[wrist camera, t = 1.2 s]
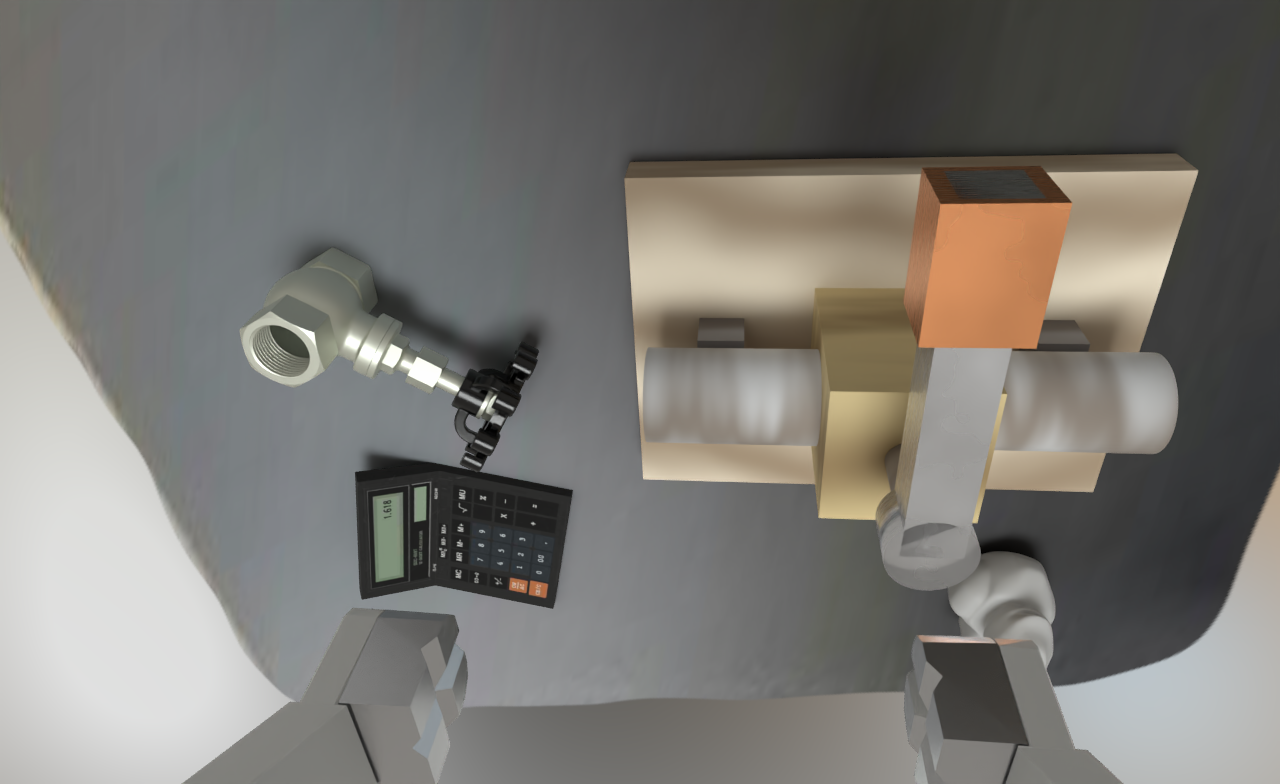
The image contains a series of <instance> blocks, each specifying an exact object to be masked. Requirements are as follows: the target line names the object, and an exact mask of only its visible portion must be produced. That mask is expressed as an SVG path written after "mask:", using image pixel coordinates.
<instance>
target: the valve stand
mask: <svg viewBox="0 0 1280 784" xmlns="http://www.w3.org/2000/svg"><path fill="white" fill-rule="evenodd" d="M988 166H1041V167H1042V168H1043V169H1044V170H1045V172H1046V173H1047V174H1048V175H1049V176H1050V177H1051V178H1052V180H1053V181H1054V182H1055V183H1056V184H1057V185H1058V187H1059V188H1060V189H1061V190H1062V191H1063V192H1064V194H1065V195H1066V196H1067V197H1068V198H1069V199H1070V201H1071V202H1072V207H1071V211H1070V215H1069V219H1068V223H1067V227H1066V231H1065V235H1064V239H1063V243H1062V247H1061V251H1060V255H1059V259H1058V263H1057V267H1056V271H1055V276H1054V280H1053V284H1052V288H1051V292H1050V296H1049V300H1048V304H1047V308H1046V312H1045V316H1044V320H1043V324H1042V328H1041V332H1040V336H1039V340H1038V344H1037V348H1036V349H1023V348H1012V351H1011V356H1010V360H1009V364H1008V369H1007V373H1006V377H1005V382H1004V386H1003V390H1002V395H1001V399H1000V404H999V408H998V412H997V417H996V421H995V425H994V430H993V434H992V439H991V443H990V447H989V452H988V456H987V460H986V465H985V469H984V474H983V478H982V482H981V487H980V491H979V495H978V500H977V504H976V508H975V513H974V517H973V522H972V523H977V522H978V518H979V513H980V509H981V505H982V501H983V496H984V492H985V489H1005V490H1040V491H1076V492H1093V491H1094V488H1095V485H1096V482H1097V479H1098V476H1099V472H1100V469H1101V466H1102V463H1103V460H1104V457H1105V454H1106V453H1132V454H1156V453H1158V452H1160V451H1162V450H1163V449H1164V448H1165V447H1166V445H1167V444H1168V442H1169V441H1170V439H1171V437H1172V434H1173V432H1174V428H1175V425H1176V420H1177V413H1178V391H1177V385H1176V380H1175V376H1174V373H1173V371H1172V368H1171V366H1170V364H1169V363H1168V361H1167V360H1166V359H1165V358H1164V357H1163V356H1162V355H1160V354H1158V353H1150V352H1139V350H1140V347H1141V344H1142V341H1143V338H1144V335H1145V332H1146V329H1147V326H1148V323H1149V320H1150V317H1151V314H1152V311H1153V308H1154V305H1155V302H1156V299H1157V296H1158V293H1159V290H1160V286H1161V283H1162V280H1163V277H1164V274H1165V271H1166V268H1167V265H1168V262H1169V259H1170V256H1171V253H1172V250H1173V247H1174V244H1175V241H1176V238H1177V235H1178V232H1179V229H1180V225H1181V222H1182V219H1183V216H1184V213H1185V210H1186V207H1187V204H1188V201H1189V198H1190V195H1191V192H1192V189H1193V186H1194V183H1195V180H1196V177H1197V174H1198V170H1197V169H1196V168H1195V167H1193V166H1192V165H1191V164H1189V163H1188V162H1187V161H1185V160H1184V159H1183V158H1181V157H1180V156H1179V155H1178V154H1112V155H1048V156H983V157H919V158H855V159H791V160H726V161H662V162H630V163H629V166H628V169H627V172H626V175H625V178H624V180H625V196H626V212H627V228H628V243H629V259H630V275H631V291H632V307H633V323H634V339H635V354H636V370H637V386H638V402H639V418H640V434H641V450H642V465H643V479H652V480H687V481H722V482H758V483H793V484H815V487H816V497H817V506H818V516H819V518H836V519H866V520H876V519H875V515H876V510H877V507H878V505H879V503H880V502H881V500H882V499H883V498H884V497H885V496H886V495H887V494H888V493H890V492H891V491H892V490H894V489H895V483H896V476H897V470H898V463H899V457H900V450H901V444H902V437H903V431H904V424H905V418H906V411H907V405H908V398H909V392H910V385H911V379H912V373H913V366H914V360H915V353H916V347H917V342H916V339H915V336H914V333H913V330H912V327H911V324H910V321H909V318H908V315H907V312H906V309H905V305H904V302H903V300H904V292H905V285H906V278H907V271H908V264H909V257H910V249H911V242H912V235H913V228H914V221H915V214H916V206H917V199H918V192H919V185H920V178H921V171H922V167H988Z"/></svg>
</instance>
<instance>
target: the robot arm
mask: <svg viewBox="0 0 1280 784" xmlns="http://www.w3.org/2000/svg"><path fill="white" fill-rule="evenodd" d="M458 633H459V629H458V625H457V622H456V619H455V616H454V615H449V614H436V613H423V612H409V611H396V610H379V609H362V608H352V609H351V610H350V611H349V612H348V613H347V614H346V615H345V616H344V617H343V619H342V621H341V623H340V625H339V627H338V629H337V631H336V633H335V634H334V636H333V638H332V640H331V642H330V644H329V646H328V648H327V650H326V652H325V654H324V656H323V658H322V660H321V662H320V664H319V666H318V668H317V670H316V671H315V673H314V675H313V677H312V679H311V681H310V683H309V685H308V687H307V689H306V691H305V693H304V695H303V697H302V699H301V701H300V702H289V703H288V704H287V705H285V706H284V707H283V708H281V709H280V710H279V711H277V712H276V713H275V714H273V715H272V716H271V717H269V718H268V719H267V720H265V721H264V722H263V723H261V724H260V725H259V726H257V727H256V728H255V729H254V730H252V731H251V732H250V733H248V734H247V735H246V736H244V737H243V738H242V739H240V740H239V741H238V742H236V743H235V744H234V745H232V746H231V747H230V748H229V749H227V750H226V751H225V752H223V753H222V754H221V755H219V756H218V757H217V758H215V759H214V760H213V761H211V762H210V763H209V764H207V765H206V766H205V767H203V768H202V769H201V770H199V771H198V772H197V773H196V774H194V775H193V776H192V777H190V778H189V779H188V780H186V781H185V782H184V783H182V784H438V781H439V778H440V775H441V772H442V769H443V765H444V763H445V759H446V756H447V753H448V750H449V747H450V740H449V737H448V733H447V730H446V728H447V727H448V726H449V725H450V724H451V723H452V722H453V721H454V720H456V719H457V718H458V717H459V716H460V713H461V710H462V706H463V703H464V700H465V694H466V687H467V680H468V671H467V660H466V656H465V652H464V650H462V649H461V648H460V647H459V646H458V645H457V644H455V641H456V638H457V635H458ZM911 654H912V659H913V664H914V669H913V670H912V671H911V672H909V673H908V674H907V678H906V685H905V698H904V700H905V701H904V712H905V722H906V730H907V736H908V742H909V744H910V745H911V746H912V748H913V749H914V750H915V751H916V752H917V753H918V759H917V764H916V768H915V773H914V776H915V781H916V784H1123V783H1122V782H1121V781H1120V780H1119V779H1118V778H1117V777H1115V775H1114V774H1113V773H1111V772H1110V771H1109V770H1108V769H1107V768H1106V767H1105V766H1104V765H1103V764H1102V763H1101V762H1100V761H1099V760H1097V759H1096V758H1095V757H1094V756H1093V755H1092V754H1091V753H1090V752H1089V751H1088V750H1080V749H1079V750H1078V749H1075V747H1074V744H1073V741H1072V738H1071V736H1070V733H1069V730H1068V727H1067V725H1066V722H1065V719H1064V716H1063V714H1062V711H1061V708H1060V705H1059V703H1058V700H1057V697H1056V694H1055V692H1054V689H1053V686H1052V683H1051V681H1050V678H1049V675H1048V673H1047V670H1046V667H1045V664H1044V662H1043V659H1042V656H1041V653H1040V651H1039V648H1038V646H1037V645H1036V644H1035V643H1034V642H1033V641H1032V640H1016V639H995V638H994V639H991V638H987V637H958V636H928V635H917V636H916V638H915V640H914V643H913V647H912V652H911Z"/></svg>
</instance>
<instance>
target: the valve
mask: <svg viewBox="0 0 1280 784" xmlns="http://www.w3.org/2000/svg"><path fill="white" fill-rule="evenodd" d="M377 302H378V299H377V294H376V290H375V285H374V281H373V276H372V272H371V268H370V266H369V265H367V264H365V263H363V262H361V261H359V260H357V259H355V258H353V257H351V256H350V255H348V254H346V253H344V252H342V251H340V250H338V249H336V248H333V247H332V248H330V249H329V250H327V251H326V252H324V253H322V254H321V255H319V256H317V257H316V258H314V259H313V260H311V261H309V262H308V263H306V264H305V265H304V266H303V267H302V268H301V269H299V270H296V271H293V272H291V273H289V274H287V275H285V276H284V277H282V278H281V279H280V280H279V281H278V282H276V283H275V285H274V286H273V287H272V288H271V290H270V291H269V293H268V295H267V297H266V300H265V303H264V307H263V309H262V310H260V311H258V312H257V313H256V314H255V315H254V316H253V317H252V318H251V319H250V320H249V321H248V322H247V323H246V324H245V325H244V326H243V327H242V328H241V329H240V336H241V341H242V345H243V348H244V352H245V354H246V357H247V359H248V361H249V363H250V365H251V367H252V368H253V369H254V370H256V371H257V372H259V373H260V374H262V375H264V376H266V377H267V378H269V379H271V380H274V381H276V382H278V383H281V384H284V385H287V386H290V387H297V386H299V385H301V384H303V383H305V382H307V381H309V380H311V379H312V378H314V377H316V376H317V375H319V374H321V373H322V372H324V371H325V370H326V369H327V367H328V366H329V365H330V363H331V362H332V361H333V360H334V358H335V357H336V356H341V357H344V358H346V359H348V360H350V361H352V362H354V366H353V370H355V371H357V372H359V373H361V374H363V375H365V376H367V377H369V378H371V379H374V378H375V377H376V376H377V375H378V373H379V372H380V370H381V371H384V372H386V373H388V374H390V375H392V374H393V373H394V372H395V371H397V370H399V371H401V372H403V373H406V374H408V376H407V379H406V383H408V384H410V385H412V386H414V387H416V388H419V389H421V390H423V391H425V392H427V393H429V394H431V393H432V392H433V390H434V389H435V387H438V388H440V389H442V390H444V391H446V392H448V393H451V394H453V395H455V398H454V400H453V402H452V406H453V407H455V408H457V409H458V411H457V413H456V416H455V420H454V421H455V429H456V431H457V433H458V435H459V436H460V437H461V438H462V439H463V440H464V441H466V442H468V443H467V445H466V448H465V450H466V451H468V452H470V453H472V454H474V456H473V455H471V454H469V453H464V455H463V457H462V459H461V461H460V465H462V466H464V467H466V468H469V469H471V470H473V471H475V472H479V471H480V470H481V468H482V467H483V465H484V463H485V461H486V459H487V456H491V454H492V453H493V451H494V449H495V447H496V445H497V443H498V441H499V439H500V434H499V433H500V430H501V428H502V426H503V425H504V423H505V421H506V419H507V417H508V416H509V417H511V416H512V415H513V413H514V411H515V410H516V408H517V406H518V404H519V402H520V399H521V394H519V393H520V390H521V388H522V386H523V384H524V382H525V380H528V379H529V378H530V376H531V374H532V372H533V370H534V368H535V366H536V364H537V361H538V360H537V359H536V358H537V356H538V353H539V350H538V349H536V348H534V347H532V346H530V345H528V344H526V343H524V342H522V341H521V342H520V344H519V346H518V348H517V349H516V351H515V354H516V356H515V358H514V361H513V362H511V361H509V362H508V364H507V366H506V368H505V370H504V372H503V373H502V372H500V371H498V370H495V369H482V370H480V371H478V372H477V371H475V370H473V369H469V371H468V373H467V375H466V377H463V376H461V375H459V374H457V373H455V372H453V371H451V370H449V369H447V368H445V367H446V365H447V363H448V358H447V357H445V356H443V355H441V354H439V353H437V352H435V351H433V350H431V349H429V348H426V347H424V346H423V348H422V350H421V351H420V353H419V352H417V351H415V350H413V349H411V348H410V347H409V343H410V341H409V339H408V338H406V337H404V336H402V335H400V331H401V329H402V322H400V321H398V320H396V319H394V318H392V317H390V316H388V315H386V314H384V313H383V314H381V315H380V316H379V317H378V318H376V317H374V316H372V315H370V314H369V313H370V311H371V310H372V309H373V307H374V306H375V305H376V304H377ZM469 414H470V415H472V416H474V417H476V418H478V419H480V417H481V416H482V418H483V419H485V422H484V424H483V426H482V428H480V429H479V431H478V433H476V432H474V431H472V430H470V429H469V428H468V427H467V426H466V419H467V417H468V415H469Z"/></svg>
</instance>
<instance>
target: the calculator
mask: <svg viewBox="0 0 1280 784" xmlns="http://www.w3.org/2000/svg"><path fill="white" fill-rule="evenodd" d="M355 481H356V507H357V533H358V559H359V585H360V593H361V598H362V599H367V598H373V597H378V596H383V595H388V594H393V593H398V592H403V591H408V590H414V589H419V588H424V587H429V586H434V585H437V586H442V587H447V588H452V589H457V590H462V591H467V592H472V593H477V594H482V595H487V596H492V597H497V598H502V599H507V600H512V601H517V602H522V603H527V604H532V605H537V606H542V607H547V608H552V609H553V607H554V603H555V598H556V592H557V585H558V579H559V573H560V567H561V560H562V554H563V548H564V542H565V535H566V529H567V523H568V517H569V510H570V504H571V498H572V491H573V490H569V489H563V488H558V487H553V486H548V485H543V484H538V483H533V482H528V481H523V480H518V479H513V478H508V477H503V476H497V475H492V474H487V473H482V472H475V471H472V470H467V469H462V468H457V467H452V466H447V465H442V464H436V463H426V464H417V465H409V466H401V467H393V468H384V469H376V470H368V471H359V472H355Z"/></svg>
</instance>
